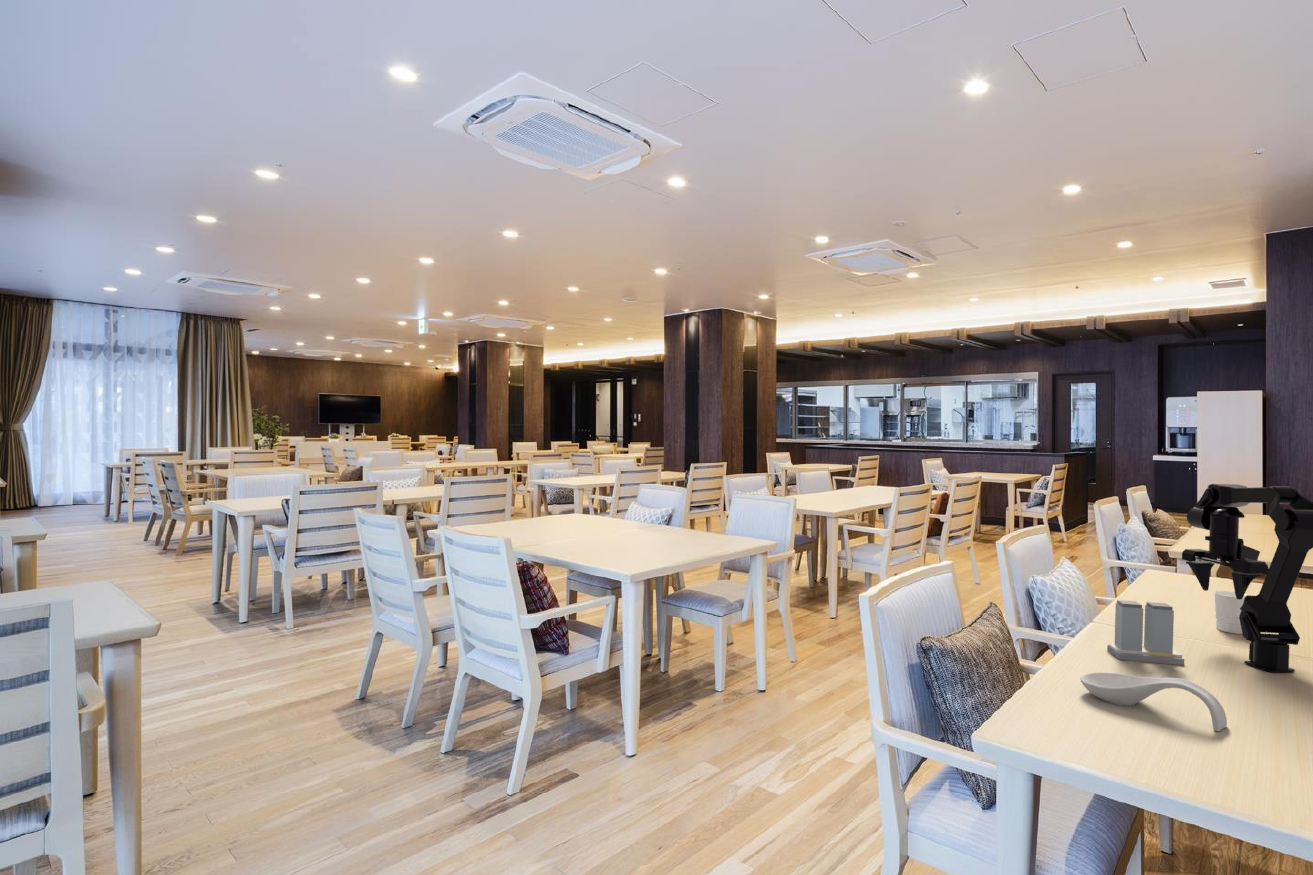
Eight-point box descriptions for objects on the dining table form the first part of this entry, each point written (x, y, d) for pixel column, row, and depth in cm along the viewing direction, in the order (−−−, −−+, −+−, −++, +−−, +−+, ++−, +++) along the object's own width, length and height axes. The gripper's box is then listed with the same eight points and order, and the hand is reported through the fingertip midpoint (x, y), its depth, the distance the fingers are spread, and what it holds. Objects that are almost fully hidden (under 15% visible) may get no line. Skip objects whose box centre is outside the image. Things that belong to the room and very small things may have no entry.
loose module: (1164, 648, 168) (1166, 603, 168) (1172, 653, 164) (1173, 607, 164) (1143, 646, 169) (1145, 601, 169) (1151, 652, 165) (1152, 605, 165)
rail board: (1170, 655, 169) (1170, 647, 169) (1184, 665, 162) (1184, 656, 162) (1107, 650, 172) (1107, 642, 172) (1118, 659, 166) (1118, 651, 166)
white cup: (1258, 635, 188) (1260, 598, 188) (1229, 634, 188) (1230, 597, 188) (1235, 626, 196) (1236, 591, 195) (1206, 626, 196) (1207, 590, 196)
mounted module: (1135, 646, 170) (1136, 601, 169) (1142, 651, 166) (1143, 605, 166) (1114, 644, 171) (1115, 599, 171) (1121, 649, 167) (1122, 603, 167)
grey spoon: (1070, 696, 143) (1071, 661, 143) (1094, 684, 150) (1094, 651, 150) (1214, 739, 124) (1215, 698, 124) (1233, 722, 131) (1234, 684, 131)
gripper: (1289, 539, 169) (1287, 603, 169) (1218, 527, 188) (1216, 585, 188) (1248, 539, 168) (1246, 604, 168) (1180, 528, 186) (1179, 586, 186)
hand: (1222, 594), depth 178 cm, fingers open, 9 cm apart
